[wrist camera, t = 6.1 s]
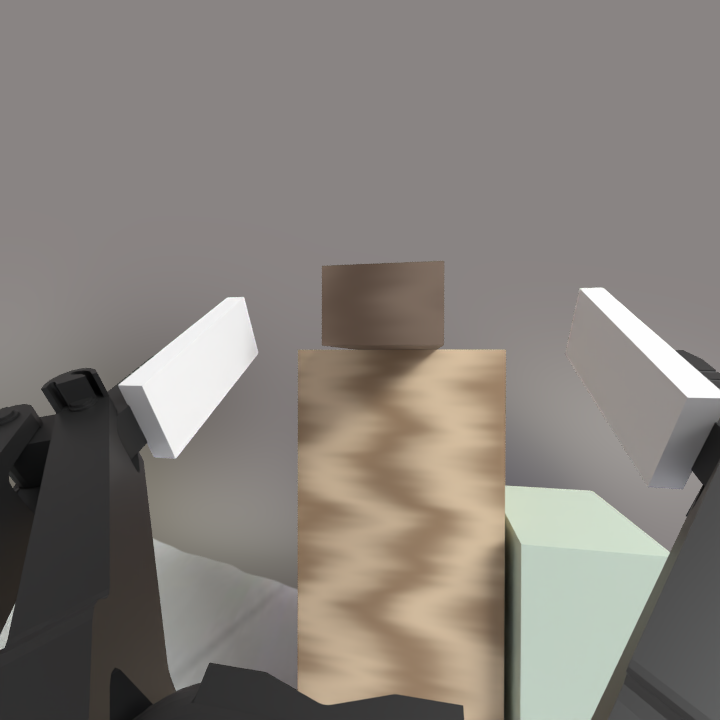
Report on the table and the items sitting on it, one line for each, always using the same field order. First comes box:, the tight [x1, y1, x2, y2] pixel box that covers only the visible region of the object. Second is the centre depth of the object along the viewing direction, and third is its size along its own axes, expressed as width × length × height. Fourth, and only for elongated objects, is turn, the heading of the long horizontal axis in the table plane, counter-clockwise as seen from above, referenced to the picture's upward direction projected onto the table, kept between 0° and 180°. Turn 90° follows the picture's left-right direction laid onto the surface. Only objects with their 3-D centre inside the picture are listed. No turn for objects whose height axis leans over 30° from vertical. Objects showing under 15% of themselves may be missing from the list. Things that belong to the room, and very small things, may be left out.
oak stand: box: [298, 350, 506, 720], centre depth 27 cm, size 12×12×30 cm
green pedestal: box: [504, 486, 670, 720], centre depth 23 cm, size 7×9×20 cm
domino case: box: [322, 261, 444, 350], centre depth 24 cm, size 4×22×3 cm, turn 170°
